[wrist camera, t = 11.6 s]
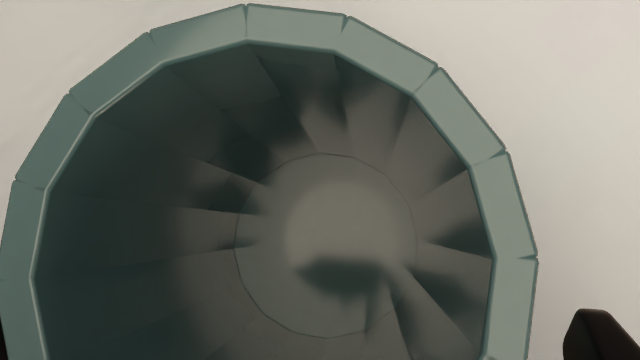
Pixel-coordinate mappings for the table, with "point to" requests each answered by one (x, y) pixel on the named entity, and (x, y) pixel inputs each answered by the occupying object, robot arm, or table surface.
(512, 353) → the tumbler
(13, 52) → the table surface
